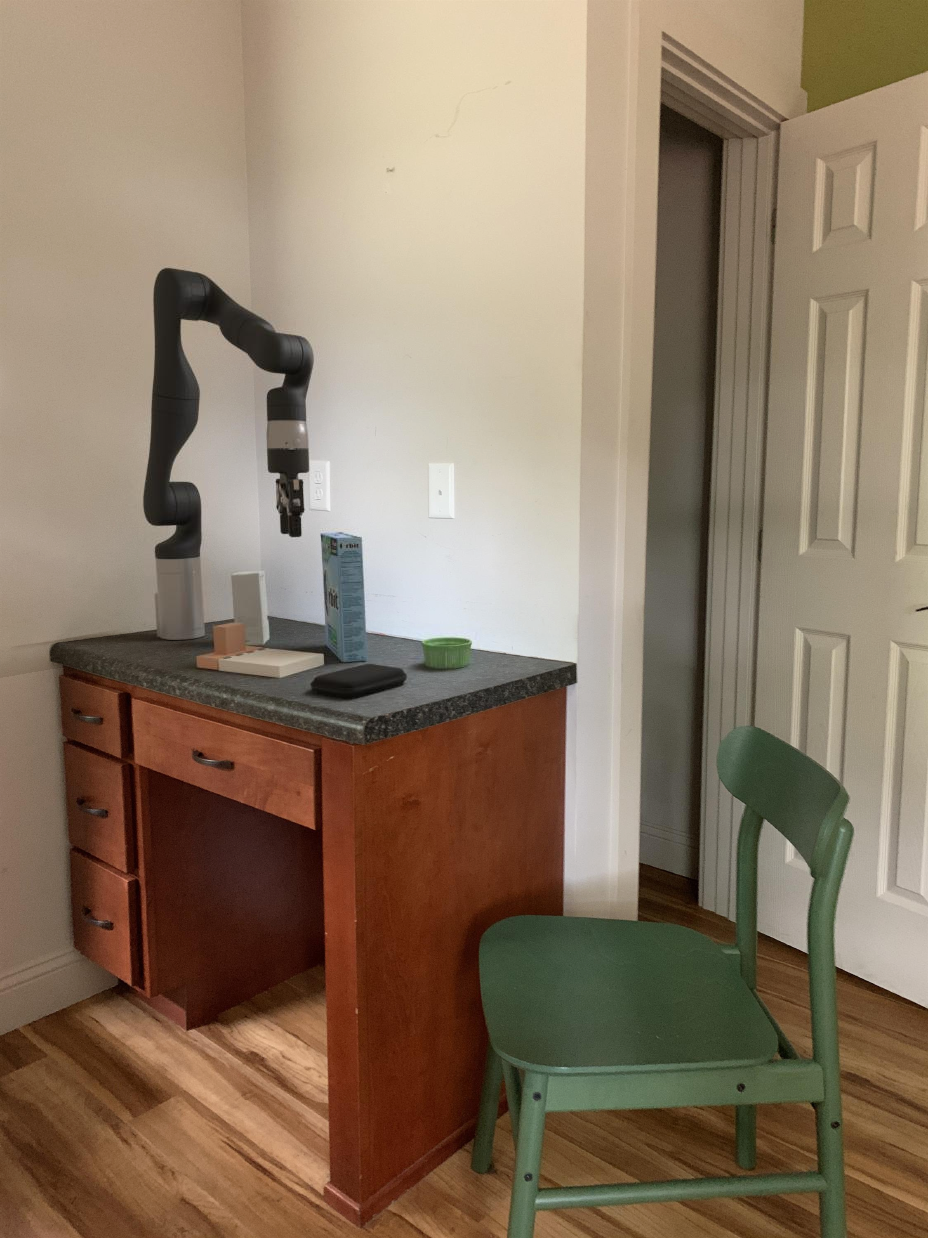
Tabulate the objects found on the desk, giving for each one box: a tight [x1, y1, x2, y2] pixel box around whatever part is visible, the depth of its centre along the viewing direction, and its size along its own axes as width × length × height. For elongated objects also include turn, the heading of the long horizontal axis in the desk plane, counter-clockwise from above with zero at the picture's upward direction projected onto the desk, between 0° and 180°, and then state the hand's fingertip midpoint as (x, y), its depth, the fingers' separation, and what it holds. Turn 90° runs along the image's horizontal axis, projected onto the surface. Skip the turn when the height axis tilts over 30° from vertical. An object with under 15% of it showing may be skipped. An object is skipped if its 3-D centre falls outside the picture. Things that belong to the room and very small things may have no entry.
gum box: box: [320, 531, 368, 663], centre depth 173 cm, size 20×5×23 cm, turn 17°
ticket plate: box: [218, 647, 325, 679], centre depth 162 cm, size 14×12×2 cm
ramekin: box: [421, 636, 473, 670], centre depth 162 cm, size 9×9×4 cm
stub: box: [195, 622, 264, 671], centre depth 166 cm, size 5×12×7 cm, turn 151°
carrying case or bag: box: [309, 663, 408, 700], centre depth 146 cm, size 11×3×15 cm
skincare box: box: [230, 570, 270, 647], centre depth 187 cm, size 8×6×15 cm
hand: (290, 535), depth 168 cm, fingers open, 8 cm apart
